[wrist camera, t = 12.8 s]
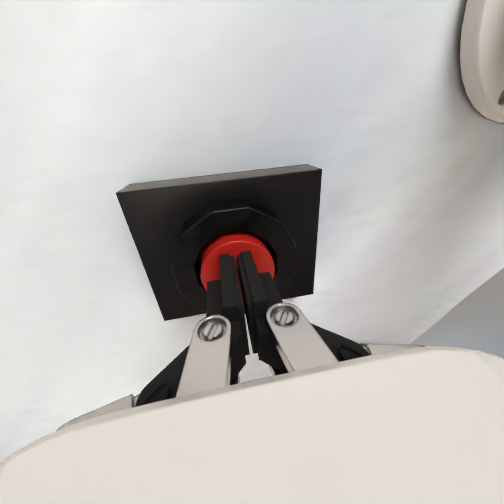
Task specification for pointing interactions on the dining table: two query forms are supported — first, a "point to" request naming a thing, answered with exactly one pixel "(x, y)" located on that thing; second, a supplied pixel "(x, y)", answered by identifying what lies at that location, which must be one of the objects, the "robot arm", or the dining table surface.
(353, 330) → the dining table surface
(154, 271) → the button block
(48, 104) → the dining table surface
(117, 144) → the dining table surface
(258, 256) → the button
